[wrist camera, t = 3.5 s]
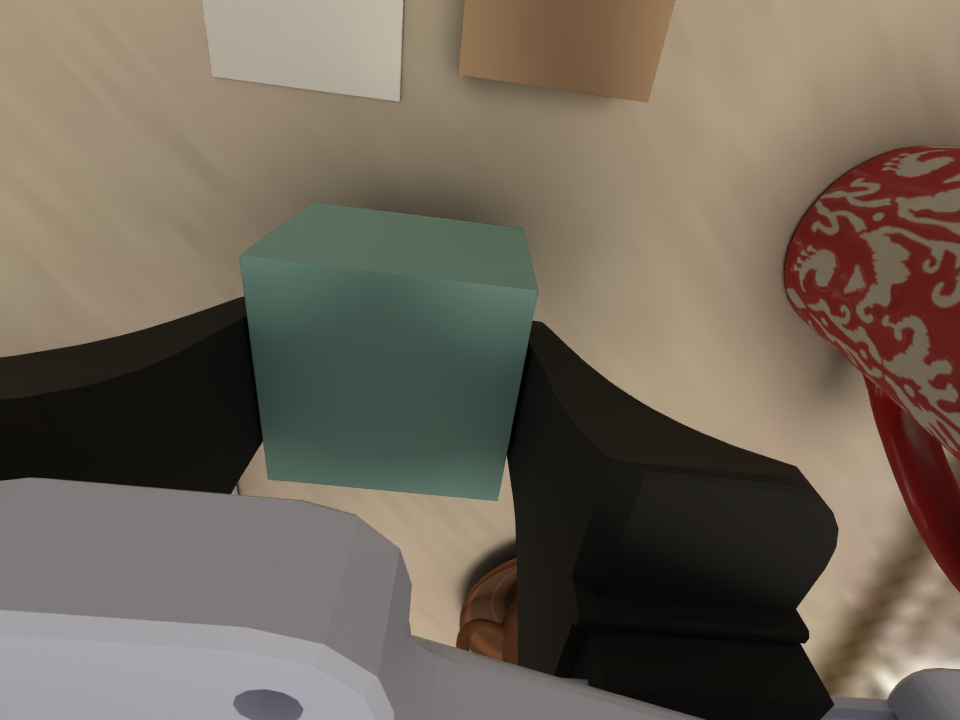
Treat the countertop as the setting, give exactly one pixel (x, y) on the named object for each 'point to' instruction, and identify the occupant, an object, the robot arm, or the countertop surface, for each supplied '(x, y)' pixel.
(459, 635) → the cup and saucer
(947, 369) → the mug
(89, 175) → the countertop surface
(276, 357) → the teal block
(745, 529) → the robot arm
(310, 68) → the page
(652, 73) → the walnut block
